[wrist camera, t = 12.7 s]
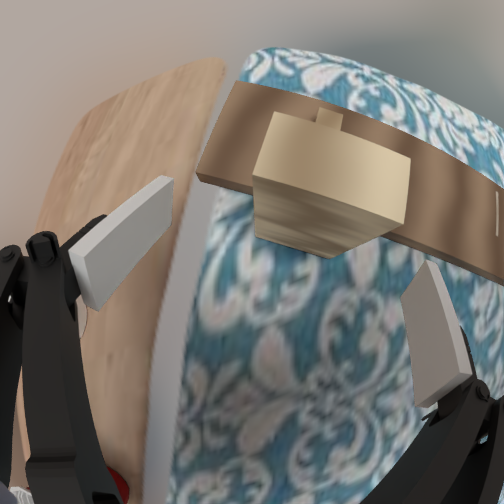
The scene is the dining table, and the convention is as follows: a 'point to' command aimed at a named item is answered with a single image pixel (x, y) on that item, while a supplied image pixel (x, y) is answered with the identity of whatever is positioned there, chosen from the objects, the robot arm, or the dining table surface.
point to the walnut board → (421, 153)
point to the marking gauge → (326, 186)
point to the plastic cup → (26, 498)
